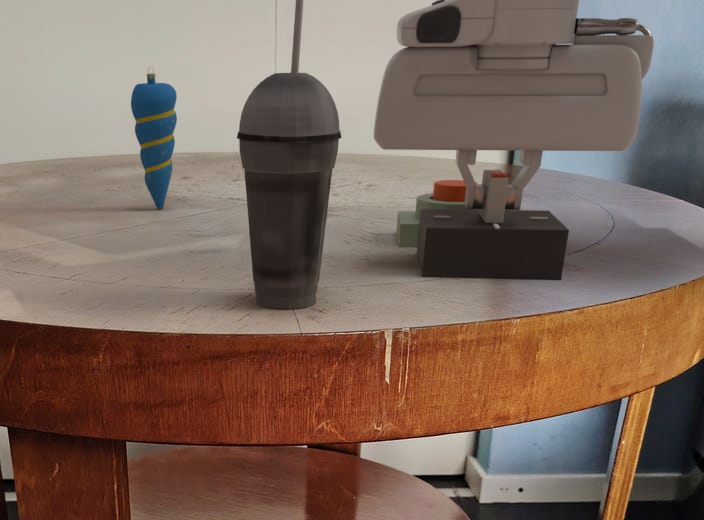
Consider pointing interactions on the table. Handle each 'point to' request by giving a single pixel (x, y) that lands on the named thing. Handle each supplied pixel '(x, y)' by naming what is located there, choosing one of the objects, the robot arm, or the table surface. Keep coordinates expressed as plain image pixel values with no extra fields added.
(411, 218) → the housing
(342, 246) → the table surface
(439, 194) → the button
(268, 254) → the beverage cup
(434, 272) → the block
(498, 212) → the knob
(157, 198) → the ornament
